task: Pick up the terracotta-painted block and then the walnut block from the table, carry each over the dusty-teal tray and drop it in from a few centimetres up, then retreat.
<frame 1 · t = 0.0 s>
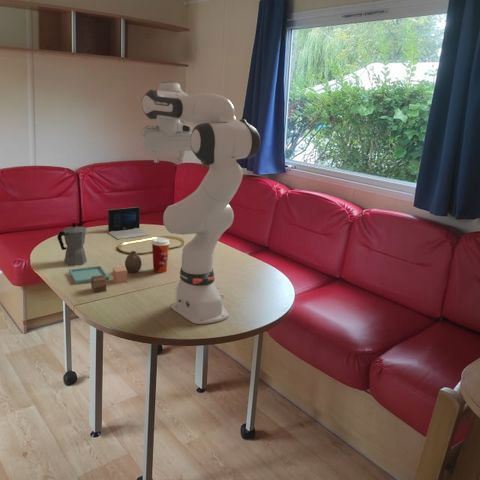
hand: (167, 162, 189), 48 cm above the table, tool pointing down, fingers open, 8 cm apart
coffeepot: (73, 263, 210), on the table
tray: (88, 276, 197), on the table
paper cup: (160, 270, 209), on the table
vase: (133, 271, 206), on the table
terracotta block: (120, 280, 195), on the table
walnut block: (98, 289, 185), on the table
laptop: (128, 235, 255), on the table
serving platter: (152, 247, 240), on the table
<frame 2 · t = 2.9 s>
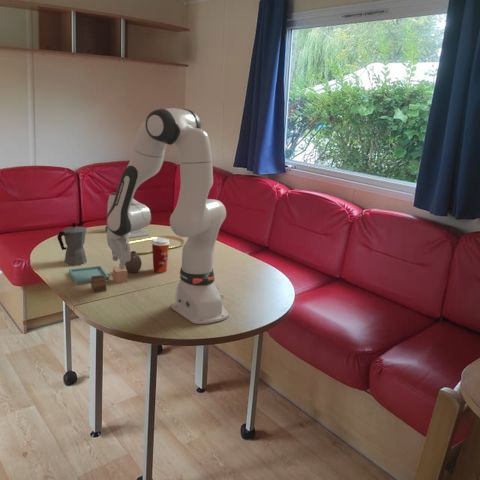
hand: (118, 264, 194), 7 cm above the table, tool pointing down, fingers open, 8 cm apart
nothing on the table moved.
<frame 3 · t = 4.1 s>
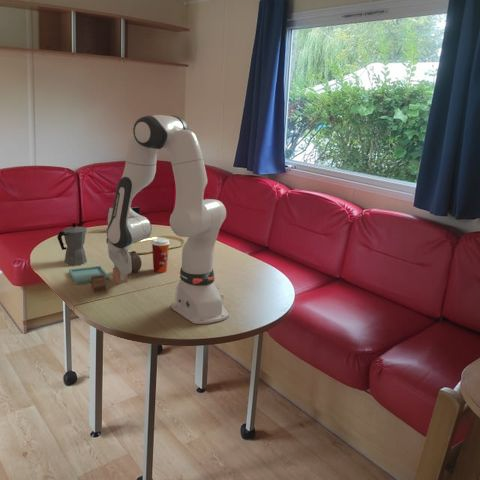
hand: (120, 276, 195), 2 cm above the table, tool pointing down, fingers closed on terracotta block, 4 cm apart
terracotta block: (120, 280, 195), on the table, touching gripper
everything else where it was.
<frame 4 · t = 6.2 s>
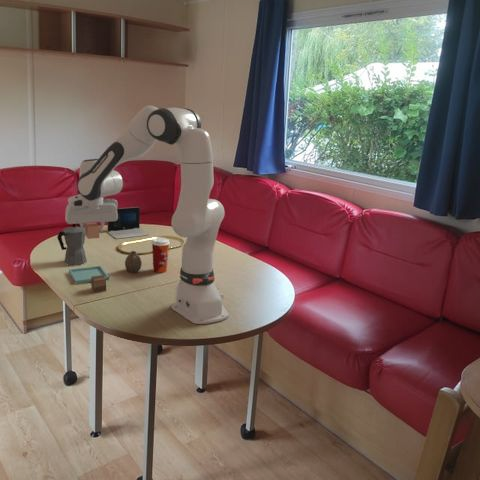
hand: (92, 232, 195), 18 cm above the table, tool pointing down, fingers closed on terracotta block, 4 cm apart
terracotta block: (92, 236, 196), point 16 cm above the table, touching gripper
everything else where it was.
when the fingers open (5 cm above the table, at t = 8.5 s): terracotta block drops 3 cm, resting on tray.
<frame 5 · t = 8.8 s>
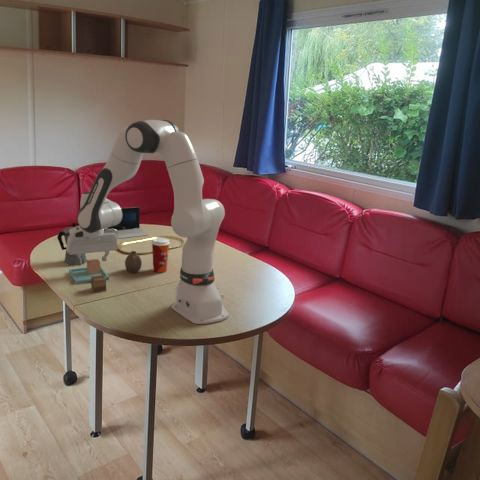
hand: (93, 262, 199), 5 cm above the table, tool pointing down, fingers open, 8 cm apart
terracotta block: (93, 272, 200), point 1 cm above the table, touching tray
everything else where it was.
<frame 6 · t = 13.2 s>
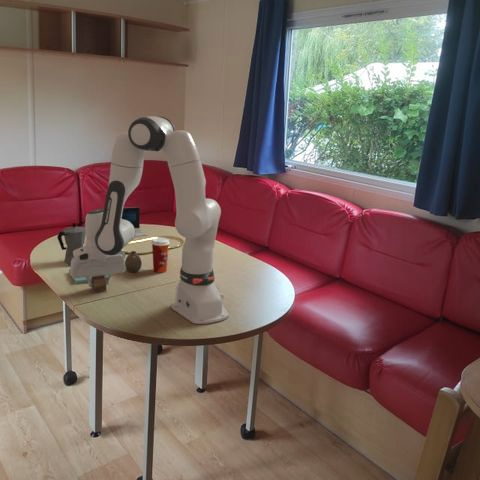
hand: (98, 285, 185), 2 cm above the table, tool pointing down, fingers closed on walnut block, 4 cm apart
walnut block: (98, 289, 185), on the table, touching gripper
when the fingers open (5 cm above the table, at t = 17.6 s): walnut block drops 3 cm, resting on tray.
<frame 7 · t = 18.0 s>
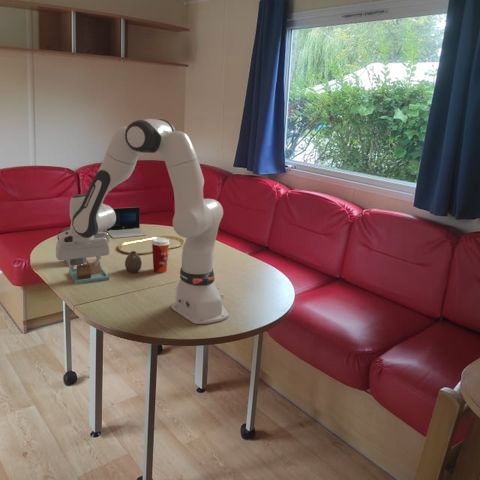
hand: (83, 267, 192), 5 cm above the table, tool pointing down, fingers open, 8 cm apart
walnut block: (84, 278, 194), point 1 cm above the table, touching tray
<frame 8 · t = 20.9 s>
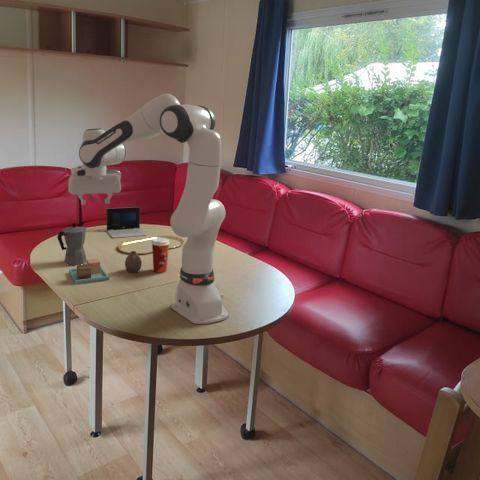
hand: (95, 204, 194), 29 cm above the table, tool pointing down, fingers open, 8 cm apart
at the end: walnut block inside the target area on the tray (3.5 cm from its centre), point 0.6 cm above the tray's base; terracotta block inside the target area on the tray (3.5 cm from its centre), point 0.6 cm above the tray's base; the gripper is holding nothing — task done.
